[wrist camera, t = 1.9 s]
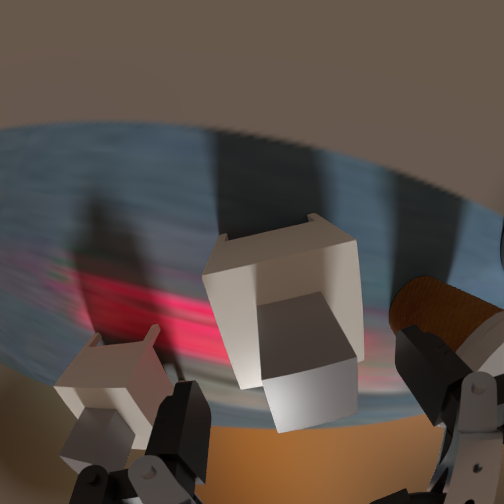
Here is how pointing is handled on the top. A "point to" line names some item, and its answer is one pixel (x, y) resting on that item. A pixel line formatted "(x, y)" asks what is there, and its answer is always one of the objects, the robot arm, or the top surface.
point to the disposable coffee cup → (453, 322)
